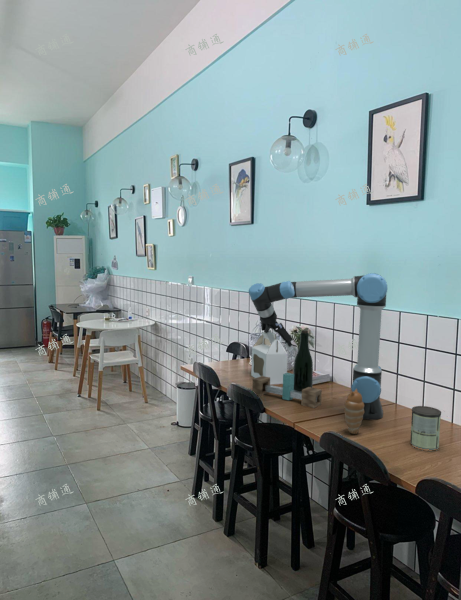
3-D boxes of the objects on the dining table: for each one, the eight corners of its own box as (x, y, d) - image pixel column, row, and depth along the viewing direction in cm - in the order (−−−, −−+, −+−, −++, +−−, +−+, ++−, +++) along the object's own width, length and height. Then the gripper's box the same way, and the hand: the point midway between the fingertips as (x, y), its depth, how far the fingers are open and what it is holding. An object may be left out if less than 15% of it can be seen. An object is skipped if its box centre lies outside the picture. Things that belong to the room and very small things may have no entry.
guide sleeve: (321, 404, 225) (321, 389, 224) (314, 408, 219) (315, 392, 219) (308, 401, 229) (308, 386, 228) (301, 405, 223) (301, 389, 223)
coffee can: (405, 440, 182) (407, 405, 181) (431, 440, 182) (433, 405, 181) (416, 451, 172) (419, 414, 170) (444, 451, 172) (446, 414, 171)
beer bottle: (311, 389, 252) (313, 329, 249) (312, 394, 241) (315, 332, 239) (292, 388, 253) (294, 328, 250) (292, 393, 242) (295, 331, 240)
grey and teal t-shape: (317, 404, 224) (318, 378, 223) (314, 406, 221) (315, 380, 220) (268, 393, 241) (269, 369, 240) (264, 394, 238) (265, 370, 237)
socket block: (269, 392, 244) (270, 377, 243) (260, 396, 236) (260, 380, 236) (261, 390, 247) (262, 375, 246) (252, 394, 239) (252, 379, 239)
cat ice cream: (347, 428, 193) (349, 386, 192) (366, 432, 189) (368, 389, 187) (339, 434, 186) (341, 390, 185) (358, 439, 182) (360, 394, 180)
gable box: (250, 375, 279) (252, 329, 276) (271, 374, 283) (272, 329, 281) (265, 385, 258) (267, 335, 256) (286, 383, 262) (288, 334, 260)
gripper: (245, 311, 223) (260, 342, 234) (279, 325, 204) (294, 359, 215) (255, 301, 226) (270, 333, 237) (290, 315, 206) (304, 349, 217)
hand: (281, 345), depth 226 cm, fingers open, 13 cm apart
